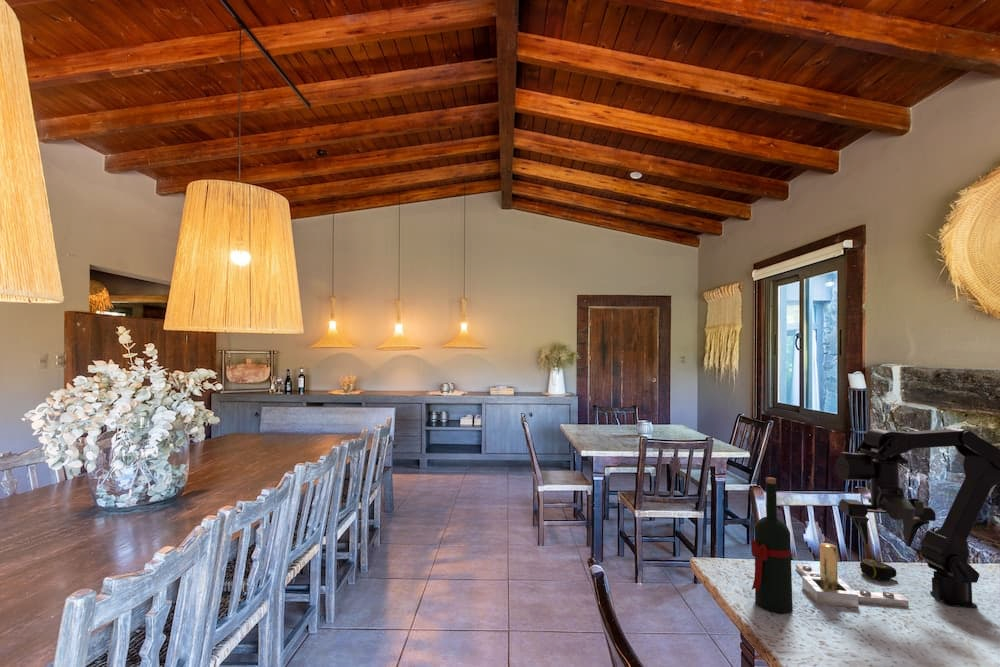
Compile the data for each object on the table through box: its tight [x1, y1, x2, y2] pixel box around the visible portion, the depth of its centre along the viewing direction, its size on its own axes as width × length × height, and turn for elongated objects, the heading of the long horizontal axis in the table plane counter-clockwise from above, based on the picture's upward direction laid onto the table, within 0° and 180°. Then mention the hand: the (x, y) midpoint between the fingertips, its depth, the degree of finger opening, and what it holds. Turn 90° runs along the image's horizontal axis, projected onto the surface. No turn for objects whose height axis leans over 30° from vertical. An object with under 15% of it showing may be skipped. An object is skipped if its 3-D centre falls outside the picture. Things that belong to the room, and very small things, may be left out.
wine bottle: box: [750, 476, 794, 615], centre depth 119 cm, size 8×10×30 cm
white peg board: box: [795, 563, 910, 609], centre depth 128 cm, size 21×21×3 cm
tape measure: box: [859, 558, 897, 581], centre depth 135 cm, size 7×7×4 cm
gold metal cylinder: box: [819, 542, 839, 590], centre depth 123 cm, size 4×4×12 cm
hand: (886, 544), depth 123 cm, fingers open, 9 cm apart
